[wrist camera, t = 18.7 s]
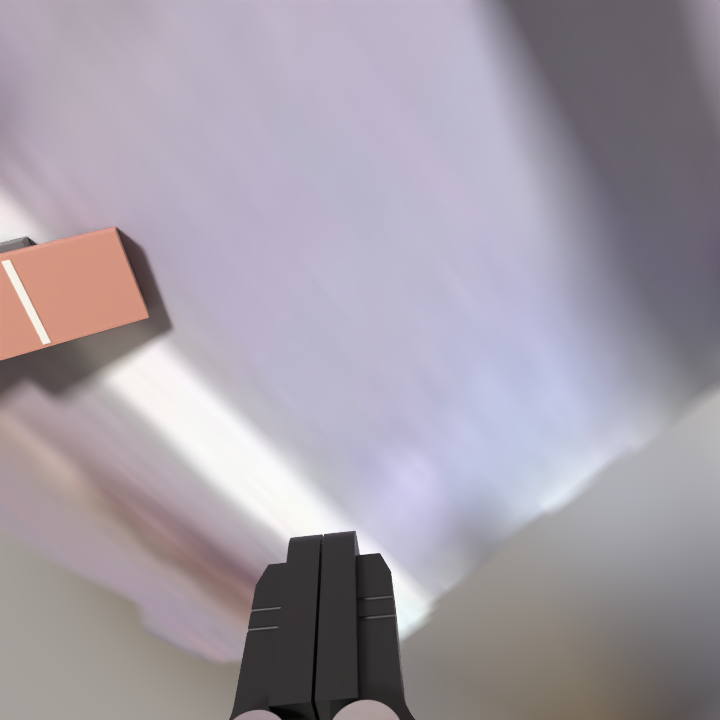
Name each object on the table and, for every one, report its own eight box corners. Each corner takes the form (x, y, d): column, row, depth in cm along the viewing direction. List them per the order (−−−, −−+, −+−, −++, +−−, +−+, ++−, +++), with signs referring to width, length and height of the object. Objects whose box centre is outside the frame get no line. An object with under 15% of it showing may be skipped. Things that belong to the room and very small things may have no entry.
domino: (147, 309, 31) (-53, 366, 28) (115, 226, 29) (-107, 278, 26) (148, 318, 30) (-64, 379, 27) (114, 230, 27) (-123, 286, 24)
